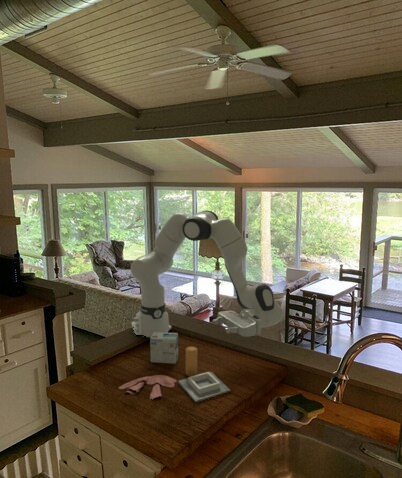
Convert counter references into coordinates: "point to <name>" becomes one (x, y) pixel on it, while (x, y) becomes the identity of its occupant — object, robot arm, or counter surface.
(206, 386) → the cylinder holder
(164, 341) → the light bulb box
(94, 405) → the counter surface
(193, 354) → the tapered orange cylinder
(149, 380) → the cloth
